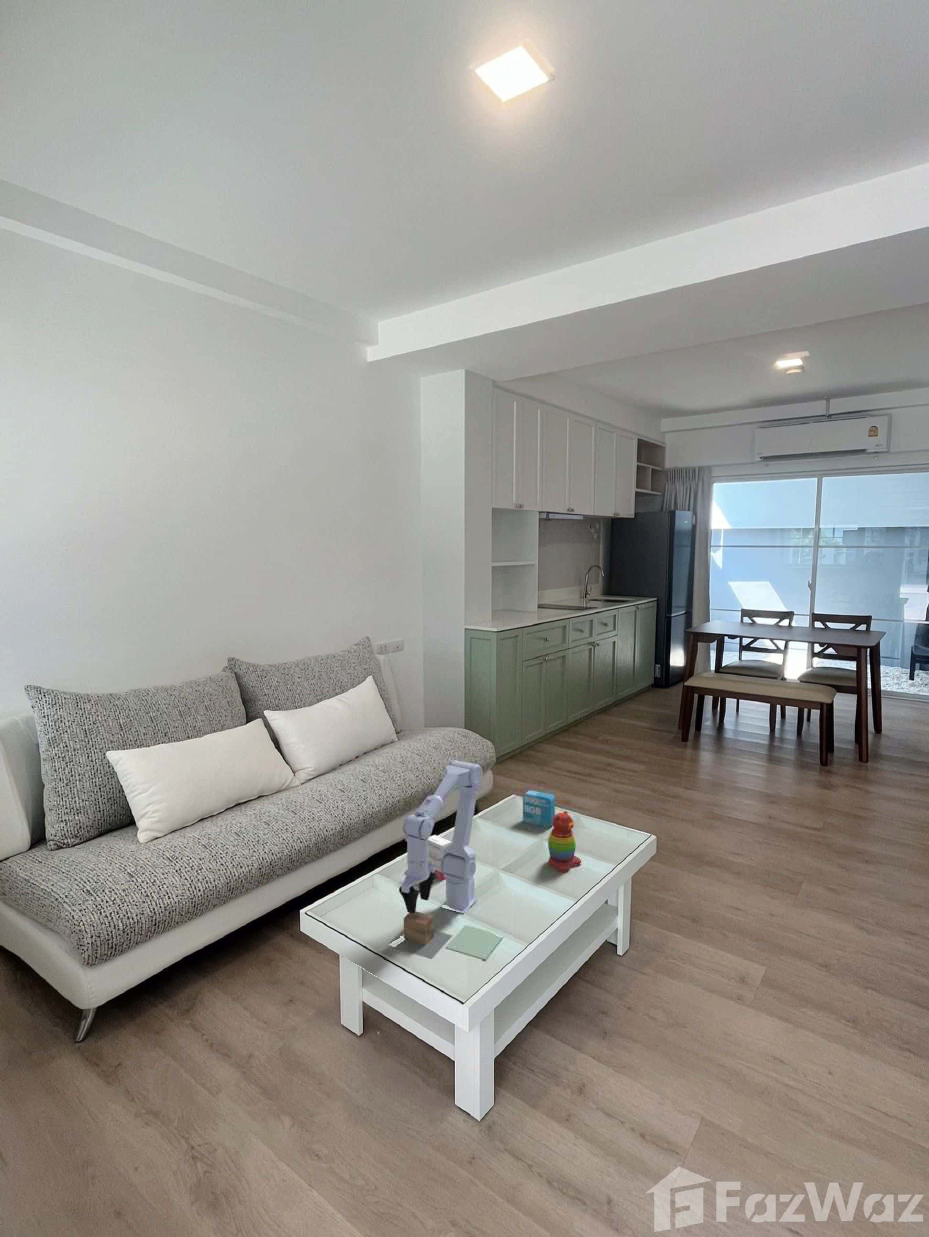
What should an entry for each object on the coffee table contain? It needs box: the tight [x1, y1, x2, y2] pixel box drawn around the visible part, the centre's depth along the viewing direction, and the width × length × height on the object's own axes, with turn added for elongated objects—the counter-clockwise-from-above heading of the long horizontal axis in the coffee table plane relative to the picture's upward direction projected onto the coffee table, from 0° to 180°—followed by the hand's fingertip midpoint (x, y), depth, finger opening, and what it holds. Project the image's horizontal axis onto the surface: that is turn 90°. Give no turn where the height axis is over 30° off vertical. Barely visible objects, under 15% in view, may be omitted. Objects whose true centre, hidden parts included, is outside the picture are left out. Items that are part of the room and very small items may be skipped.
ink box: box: [428, 834, 452, 881], centre depth 221 cm, size 8×5×12 cm, turn 47°
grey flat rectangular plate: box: [389, 928, 453, 960], centre depth 184 cm, size 12×14×1 cm
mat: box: [445, 924, 503, 961], centre depth 183 cm, size 12×12×1 cm
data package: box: [522, 789, 556, 828], centre depth 261 cm, size 12×4×12 cm, turn 60°
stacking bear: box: [547, 811, 582, 873], centre depth 228 cm, size 11×10×18 cm
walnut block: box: [403, 911, 435, 945], centre depth 185 cm, size 4×7×6 cm, turn 63°
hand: (418, 905), depth 184 cm, fingers open, 7 cm apart
